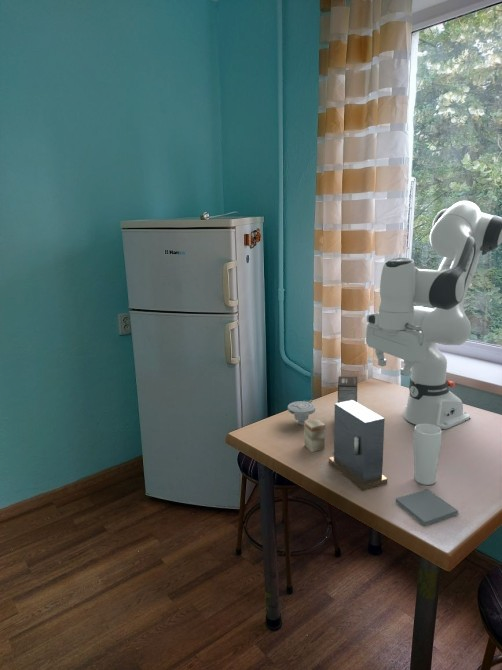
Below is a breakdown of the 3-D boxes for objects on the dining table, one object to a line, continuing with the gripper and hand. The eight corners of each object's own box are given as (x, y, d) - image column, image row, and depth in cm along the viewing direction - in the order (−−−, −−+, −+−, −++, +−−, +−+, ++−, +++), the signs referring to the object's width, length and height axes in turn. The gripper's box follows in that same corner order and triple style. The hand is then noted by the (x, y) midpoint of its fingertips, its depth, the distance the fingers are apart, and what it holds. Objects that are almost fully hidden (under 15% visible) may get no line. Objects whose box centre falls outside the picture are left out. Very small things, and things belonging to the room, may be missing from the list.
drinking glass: (424, 490, 119) (427, 436, 115) (405, 477, 125) (408, 426, 121) (443, 483, 121) (448, 431, 118) (424, 471, 127) (428, 421, 124)
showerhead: (322, 403, 158) (302, 411, 152) (321, 422, 160) (302, 431, 153) (302, 396, 165) (282, 403, 159) (302, 414, 167) (282, 423, 160)
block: (317, 442, 146) (317, 419, 144) (324, 448, 142) (324, 424, 140) (304, 445, 144) (304, 421, 142) (311, 451, 140) (311, 427, 138)
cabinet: (352, 456, 136) (353, 398, 132) (387, 483, 122) (390, 419, 118) (328, 462, 133) (329, 403, 129) (361, 491, 119) (363, 425, 115)
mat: (427, 492, 118) (427, 488, 117) (457, 514, 109) (458, 510, 108) (395, 502, 114) (395, 498, 114) (424, 525, 105) (425, 521, 105)
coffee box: (337, 418, 162) (338, 375, 159) (356, 419, 161) (357, 376, 157) (337, 430, 154) (337, 384, 150) (356, 431, 152) (357, 385, 149)
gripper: (434, 326, 114) (430, 379, 117) (381, 312, 132) (379, 359, 135) (413, 329, 111) (410, 383, 114) (362, 315, 130) (361, 362, 133)
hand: (393, 370), depth 125 cm, fingers open, 8 cm apart
